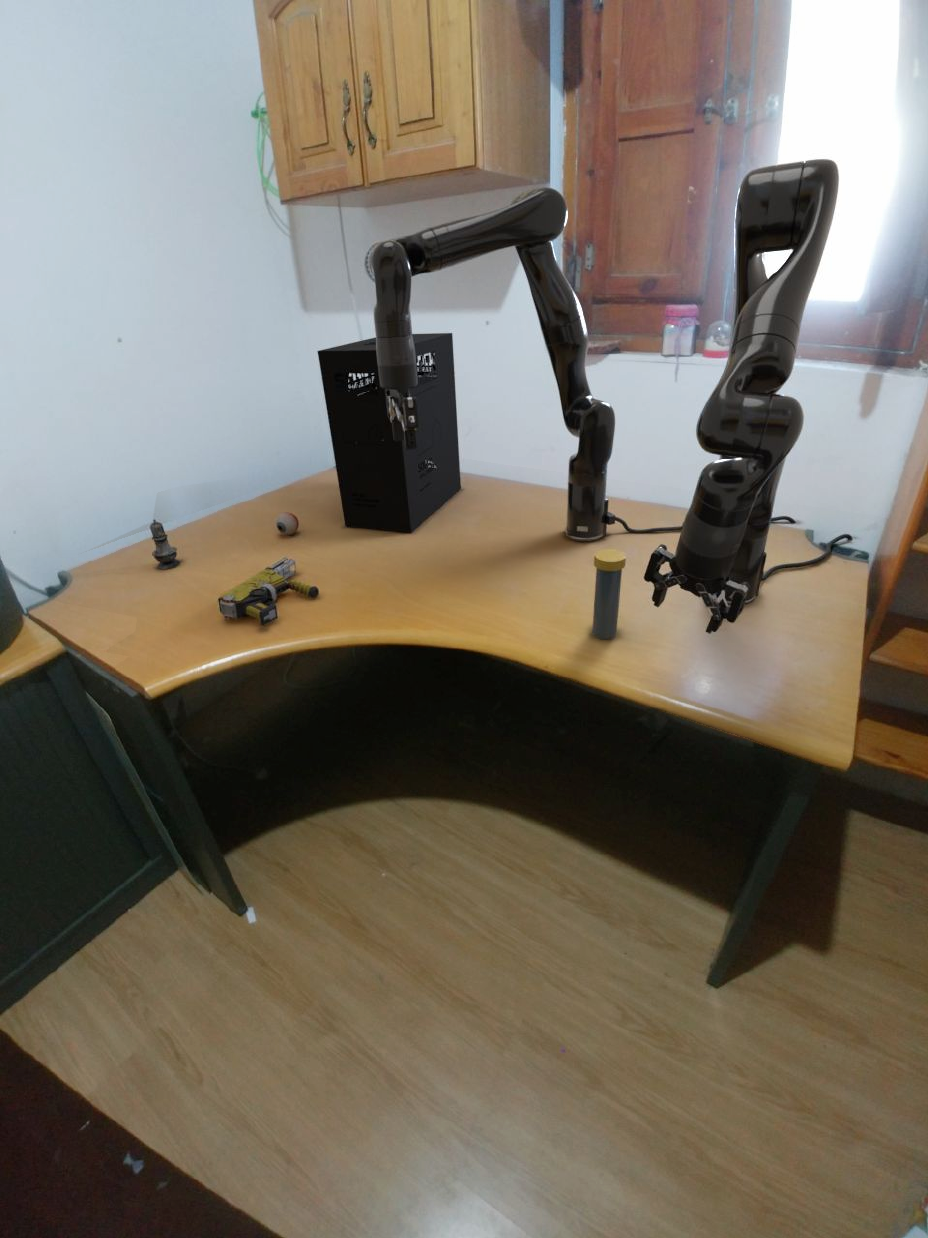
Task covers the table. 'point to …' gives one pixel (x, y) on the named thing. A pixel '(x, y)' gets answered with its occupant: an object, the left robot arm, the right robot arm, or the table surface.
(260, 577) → the toy gun
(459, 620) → the table surface
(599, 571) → the blue grey cylinder
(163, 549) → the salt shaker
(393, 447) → the cardboard box
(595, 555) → the lid
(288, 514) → the eyeball
